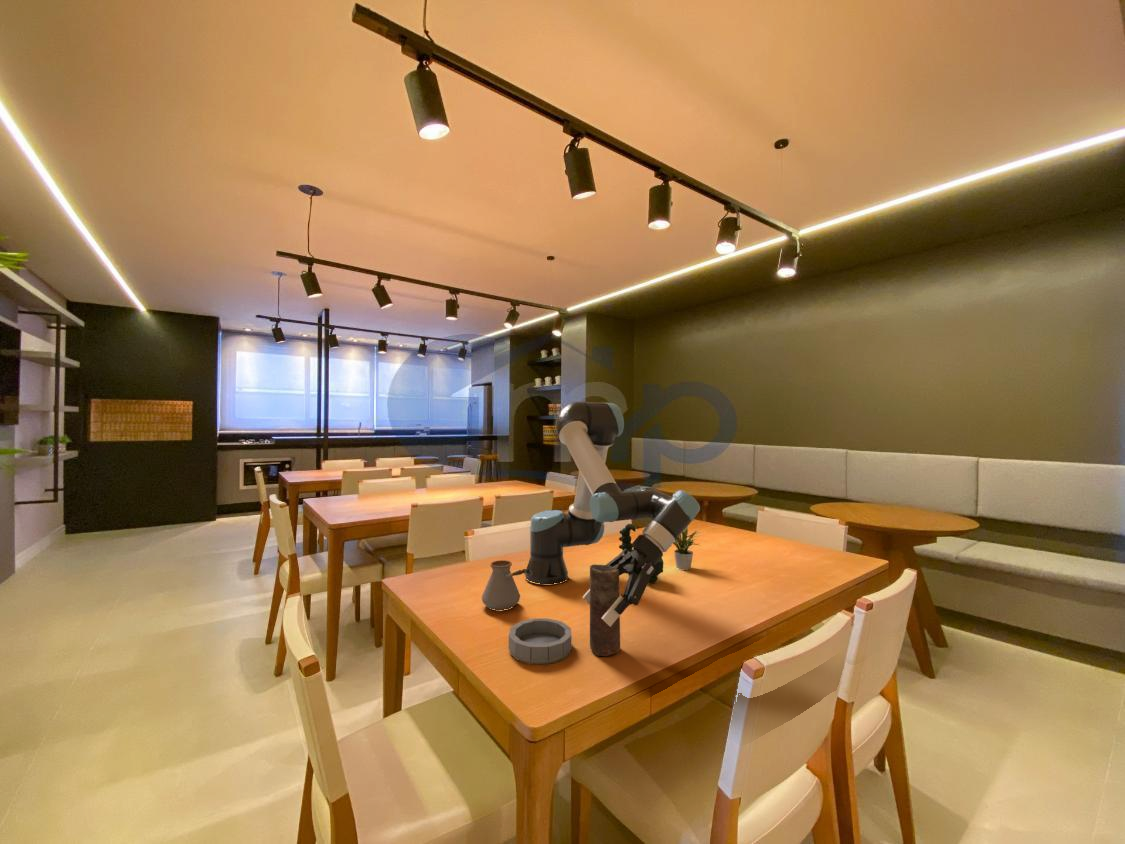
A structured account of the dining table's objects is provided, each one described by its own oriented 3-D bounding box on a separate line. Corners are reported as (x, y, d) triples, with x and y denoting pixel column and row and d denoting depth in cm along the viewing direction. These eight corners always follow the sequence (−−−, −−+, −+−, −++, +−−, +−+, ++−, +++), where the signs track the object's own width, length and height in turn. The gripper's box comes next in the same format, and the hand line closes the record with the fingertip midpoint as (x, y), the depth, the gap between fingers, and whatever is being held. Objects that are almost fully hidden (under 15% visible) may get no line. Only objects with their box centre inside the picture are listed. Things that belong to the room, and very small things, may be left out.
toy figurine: (614, 573, 169) (652, 589, 146) (611, 523, 171) (649, 531, 148) (635, 570, 173) (675, 586, 150) (633, 521, 174) (672, 528, 152)
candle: (587, 642, 111) (587, 562, 111) (616, 641, 112) (616, 561, 112) (592, 658, 104) (592, 572, 104) (623, 657, 104) (623, 571, 104)
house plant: (710, 575, 162) (710, 530, 163) (672, 575, 163) (672, 530, 163) (698, 563, 177) (698, 522, 177) (663, 563, 177) (663, 522, 177)
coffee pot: (475, 604, 135) (475, 554, 135) (508, 596, 141) (508, 548, 142) (510, 630, 118) (510, 573, 118) (546, 619, 124) (546, 565, 125)
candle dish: (496, 654, 105) (496, 637, 105) (530, 629, 118) (530, 614, 118) (551, 671, 98) (551, 652, 98) (581, 642, 111) (581, 626, 111)
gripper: (689, 567, 101) (627, 644, 96) (639, 541, 124) (588, 601, 120) (668, 546, 99) (604, 622, 95) (622, 523, 123) (569, 584, 118)
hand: (595, 611), depth 107 cm, fingers open, 12 cm apart
